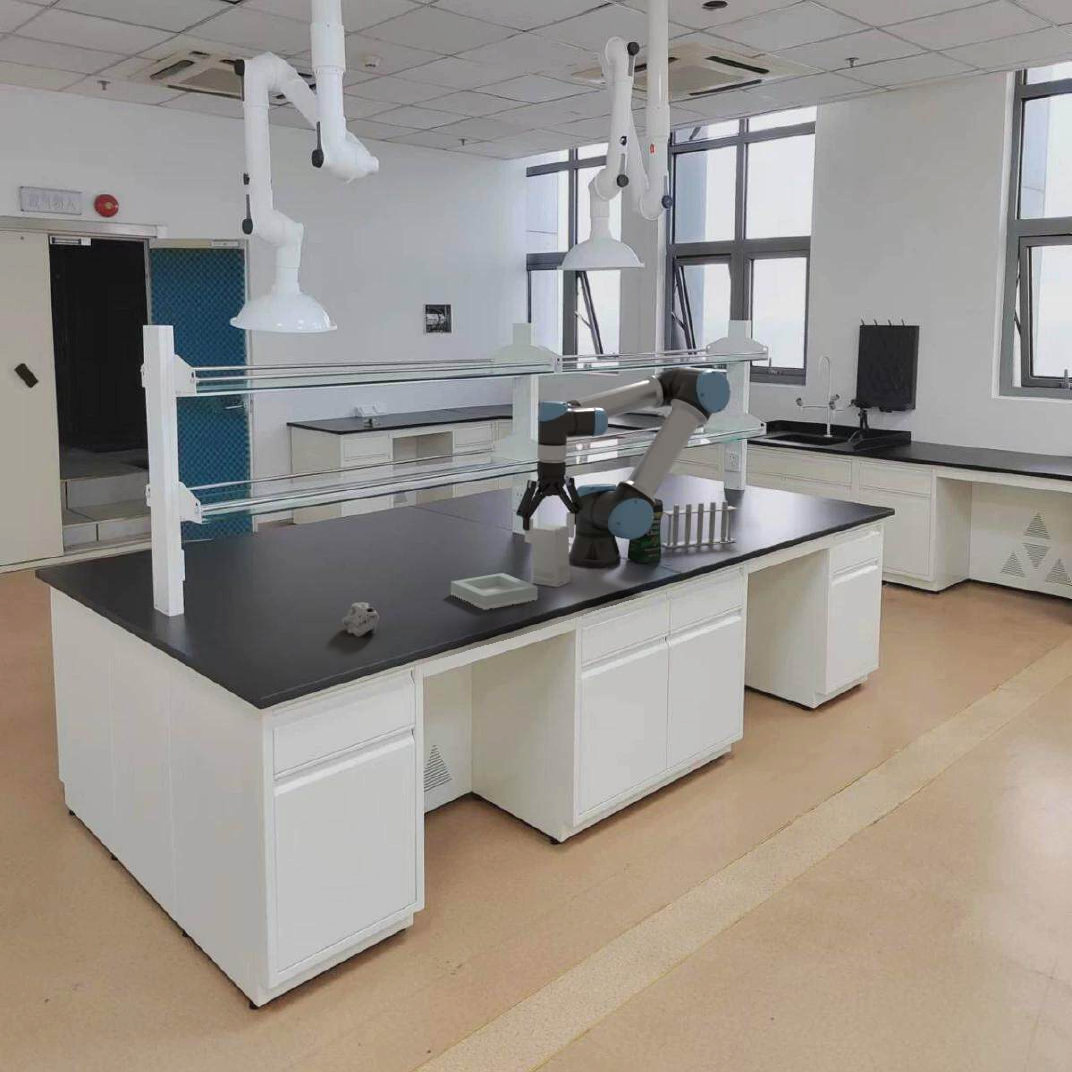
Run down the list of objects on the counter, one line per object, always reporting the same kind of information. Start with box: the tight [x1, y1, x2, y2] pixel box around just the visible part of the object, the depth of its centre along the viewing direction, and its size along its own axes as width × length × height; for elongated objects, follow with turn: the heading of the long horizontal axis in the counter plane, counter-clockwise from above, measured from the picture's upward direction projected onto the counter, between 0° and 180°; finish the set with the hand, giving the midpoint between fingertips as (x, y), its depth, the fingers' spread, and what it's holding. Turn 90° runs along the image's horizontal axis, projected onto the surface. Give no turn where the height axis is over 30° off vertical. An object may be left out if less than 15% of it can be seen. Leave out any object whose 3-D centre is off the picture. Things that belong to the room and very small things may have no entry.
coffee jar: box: [627, 497, 664, 564], centre depth 301 cm, size 10×8×19 cm
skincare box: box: [531, 523, 570, 588], centre depth 276 cm, size 8×7×16 cm
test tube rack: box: [661, 500, 739, 549], centre depth 324 cm, size 25×4×13 cm, turn 113°
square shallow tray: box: [450, 572, 539, 610], centre depth 264 cm, size 16×16×4 cm
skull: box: [341, 601, 380, 638], centre depth 234 cm, size 8×9×12 cm
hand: (549, 539), depth 275 cm, fingers open, 13 cm apart
